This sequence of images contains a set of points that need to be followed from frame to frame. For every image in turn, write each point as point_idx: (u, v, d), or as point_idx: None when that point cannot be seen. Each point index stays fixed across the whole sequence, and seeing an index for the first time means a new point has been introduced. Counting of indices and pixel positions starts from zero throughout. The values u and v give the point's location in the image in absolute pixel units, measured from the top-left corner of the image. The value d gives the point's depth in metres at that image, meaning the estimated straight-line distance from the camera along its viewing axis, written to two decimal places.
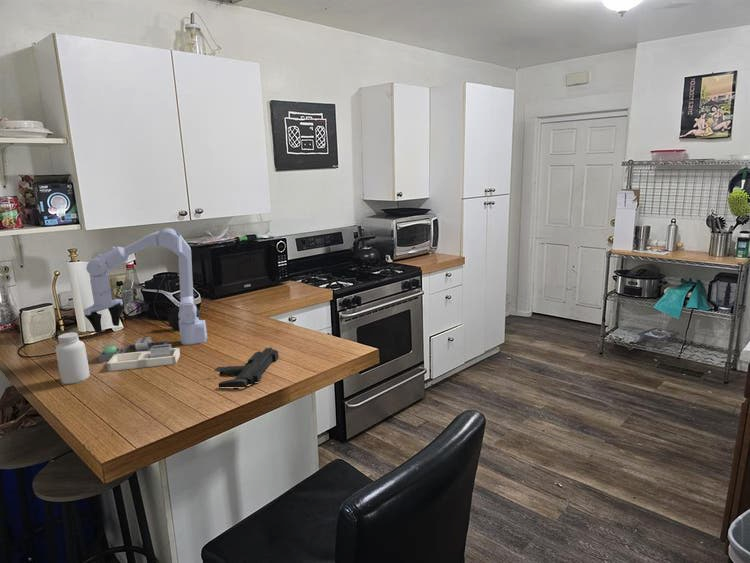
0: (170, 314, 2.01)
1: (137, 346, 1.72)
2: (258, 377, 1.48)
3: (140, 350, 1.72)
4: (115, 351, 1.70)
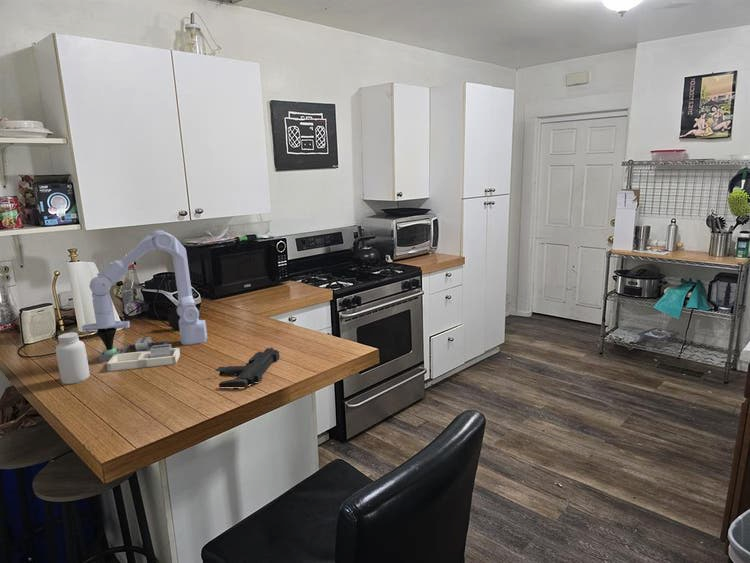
0: (170, 314, 2.01)
1: (137, 346, 1.72)
2: (258, 377, 1.48)
3: (140, 350, 1.72)
4: (115, 353, 1.71)
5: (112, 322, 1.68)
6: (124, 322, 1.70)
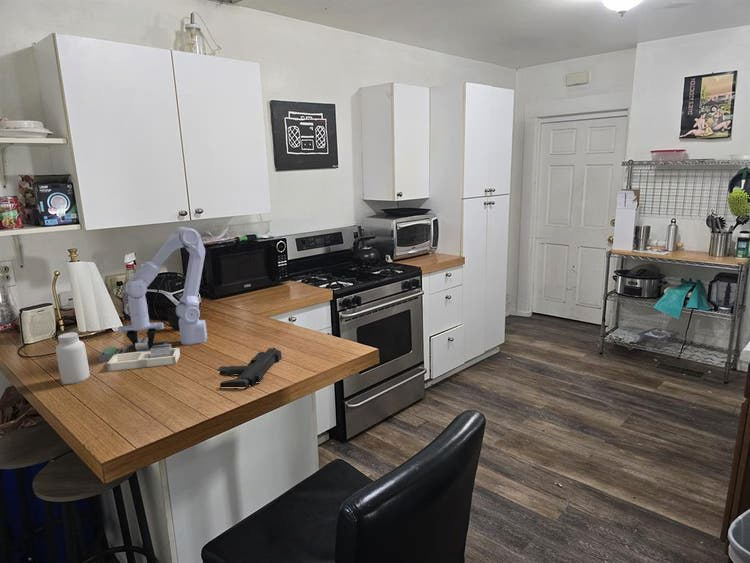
0: (170, 314, 2.01)
1: (137, 346, 1.72)
2: (260, 377, 1.48)
3: (140, 350, 1.72)
4: (115, 353, 1.71)
5: (147, 323, 1.72)
6: (158, 323, 1.74)
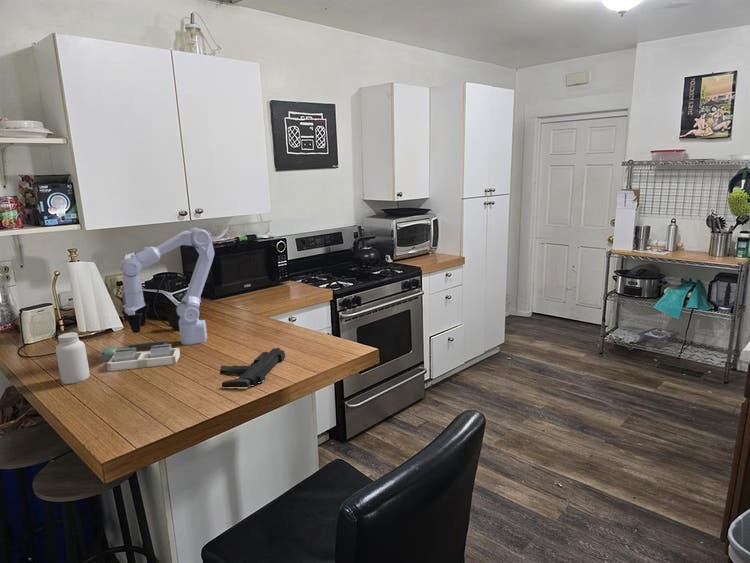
0: (170, 314, 2.01)
1: (134, 353, 1.63)
2: (261, 378, 1.48)
3: (135, 357, 1.64)
4: None
5: None
6: None
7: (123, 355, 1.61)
